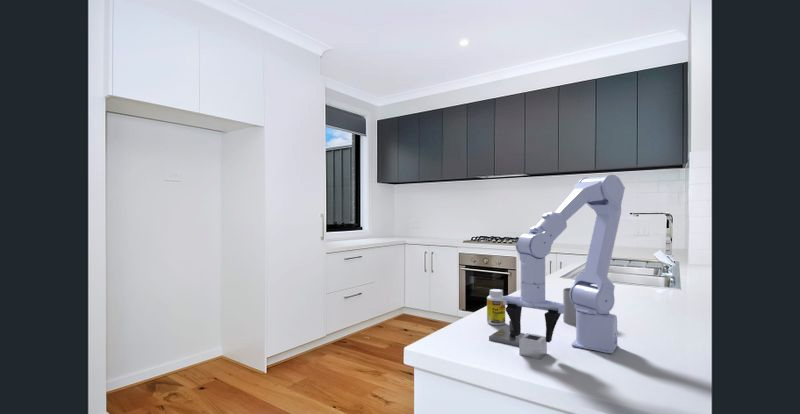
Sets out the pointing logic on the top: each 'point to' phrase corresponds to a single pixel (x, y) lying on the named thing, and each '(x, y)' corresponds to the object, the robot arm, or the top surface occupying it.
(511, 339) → the block
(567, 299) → the cup
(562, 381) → the top surface
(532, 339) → the square hole block
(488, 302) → the supplement bottle
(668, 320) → the top surface
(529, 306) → the robot arm
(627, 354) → the top surface
